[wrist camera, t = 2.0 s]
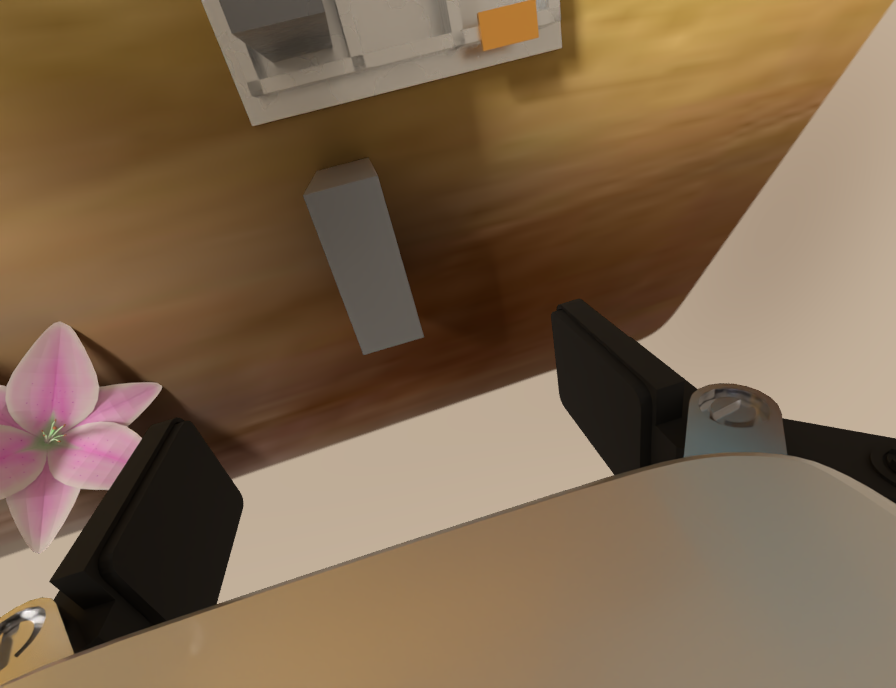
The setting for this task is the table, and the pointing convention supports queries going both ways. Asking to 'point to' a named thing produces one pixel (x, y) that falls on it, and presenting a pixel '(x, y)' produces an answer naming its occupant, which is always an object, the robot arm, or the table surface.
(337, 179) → the panel
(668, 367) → the robot arm
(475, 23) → the rack
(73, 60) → the table surface
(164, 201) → the table surface
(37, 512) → the lily
